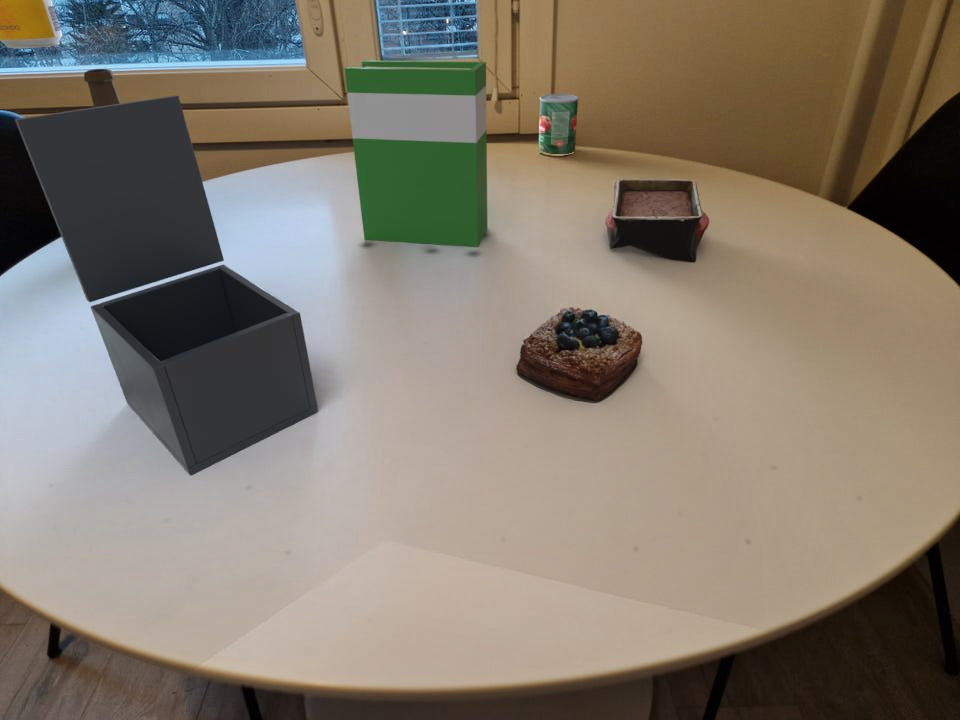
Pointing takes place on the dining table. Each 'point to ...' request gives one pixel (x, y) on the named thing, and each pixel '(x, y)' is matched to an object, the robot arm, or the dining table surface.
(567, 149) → the canned tomato
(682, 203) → the baking dish
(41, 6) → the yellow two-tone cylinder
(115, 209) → the box lid
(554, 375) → the pastry
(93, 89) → the beer bottle
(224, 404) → the black box
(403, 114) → the green cereal box
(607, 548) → the dining table surface
